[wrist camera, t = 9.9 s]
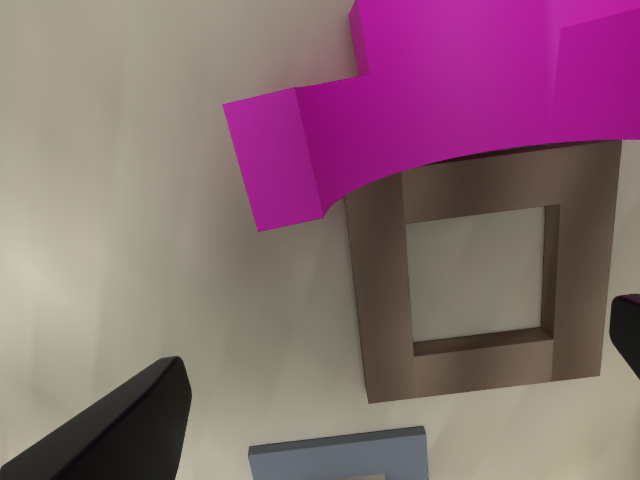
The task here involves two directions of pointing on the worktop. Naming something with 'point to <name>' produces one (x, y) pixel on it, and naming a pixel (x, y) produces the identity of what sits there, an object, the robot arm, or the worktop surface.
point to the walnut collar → (472, 199)
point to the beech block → (366, 477)
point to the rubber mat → (345, 457)
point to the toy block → (440, 96)
